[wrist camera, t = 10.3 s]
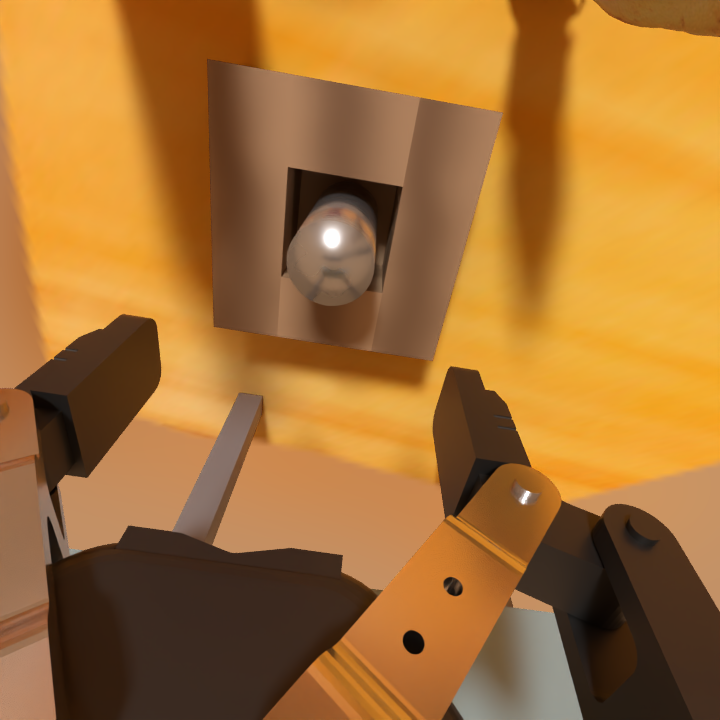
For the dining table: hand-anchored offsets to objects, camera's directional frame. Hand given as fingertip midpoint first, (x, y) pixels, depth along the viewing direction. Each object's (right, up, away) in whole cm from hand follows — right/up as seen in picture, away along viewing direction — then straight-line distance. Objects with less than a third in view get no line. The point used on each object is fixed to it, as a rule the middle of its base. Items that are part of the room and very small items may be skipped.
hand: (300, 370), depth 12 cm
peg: (+1, +10, +16) cm, 19 cm away
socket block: (+1, +10, +17) cm, 20 cm away
